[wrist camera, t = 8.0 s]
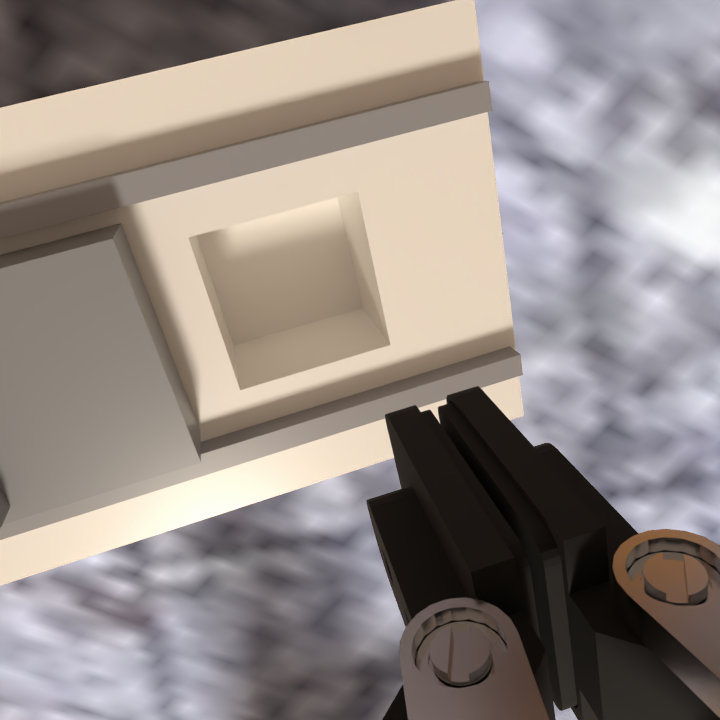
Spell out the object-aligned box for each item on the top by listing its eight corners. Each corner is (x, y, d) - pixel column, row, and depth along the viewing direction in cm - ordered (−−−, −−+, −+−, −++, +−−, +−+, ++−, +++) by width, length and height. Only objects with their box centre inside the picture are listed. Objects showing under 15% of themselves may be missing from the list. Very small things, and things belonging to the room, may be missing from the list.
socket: (418, 13, 22) (485, -8, 17) (471, 363, 28) (533, 426, 23) (-184, 156, 20) (-317, 181, 15) (15, 505, 26) (-30, 610, 21)
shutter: (120, 223, 18) (107, 247, 15) (200, 430, 21) (201, 481, 18) (-140, 291, 17) (-202, 330, 14) (-18, 497, 20) (-51, 561, 17)
